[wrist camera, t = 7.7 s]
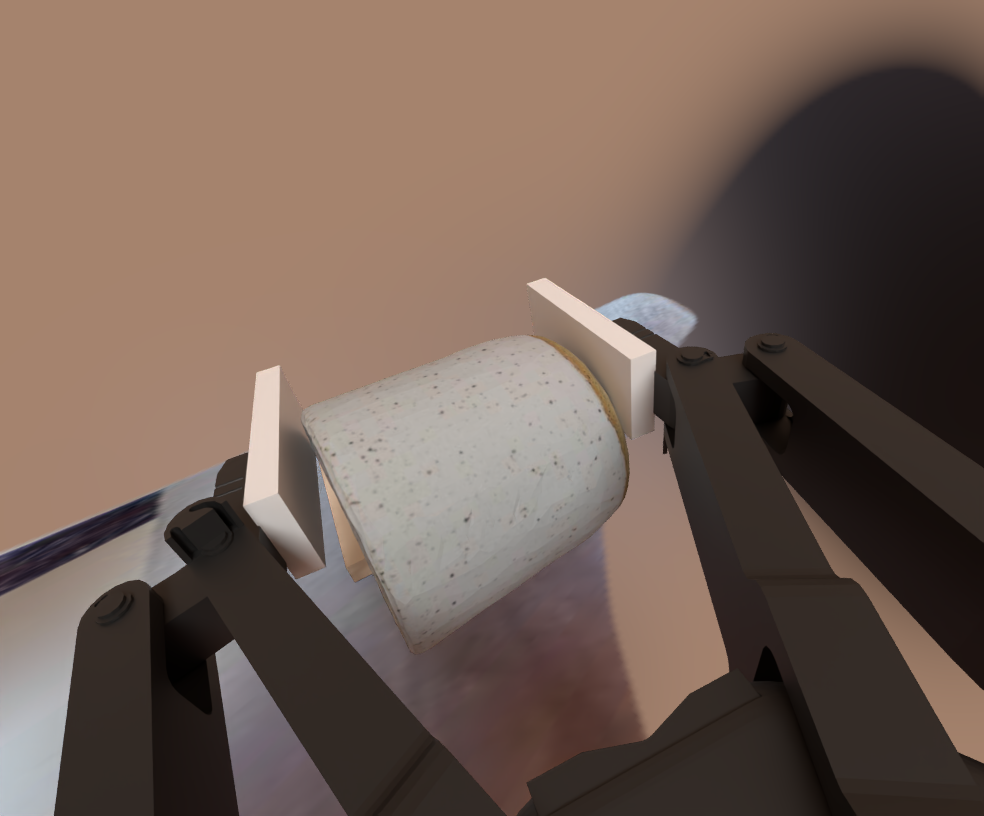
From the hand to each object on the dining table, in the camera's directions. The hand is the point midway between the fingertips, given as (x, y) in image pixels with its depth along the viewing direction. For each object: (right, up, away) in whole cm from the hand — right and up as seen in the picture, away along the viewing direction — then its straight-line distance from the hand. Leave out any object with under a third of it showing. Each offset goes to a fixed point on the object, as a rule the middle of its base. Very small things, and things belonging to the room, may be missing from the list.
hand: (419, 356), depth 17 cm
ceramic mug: (+2, -7, +1) cm, 7 cm away
